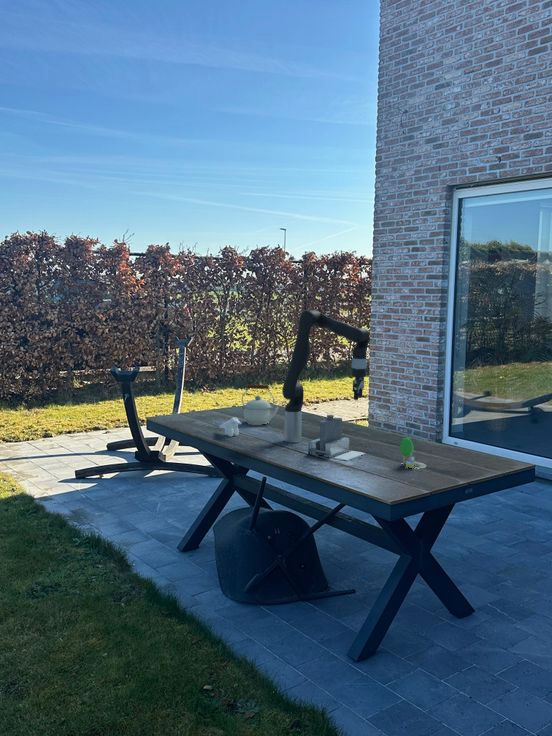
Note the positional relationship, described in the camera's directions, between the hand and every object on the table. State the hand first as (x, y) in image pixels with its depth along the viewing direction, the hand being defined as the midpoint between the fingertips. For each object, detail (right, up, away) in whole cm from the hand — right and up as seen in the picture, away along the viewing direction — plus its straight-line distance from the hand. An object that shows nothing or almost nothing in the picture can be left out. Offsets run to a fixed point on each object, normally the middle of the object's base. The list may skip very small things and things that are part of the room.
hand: (358, 398), depth 323 cm
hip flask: (-14, -29, +3) cm, 32 cm away
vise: (-14, -28, +3) cm, 32 cm away
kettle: (-52, -20, +79) cm, 97 cm away
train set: (+24, -32, -20) cm, 44 cm away
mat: (-5, -29, -4) cm, 30 cm away
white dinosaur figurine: (-69, -24, +44) cm, 86 cm away
